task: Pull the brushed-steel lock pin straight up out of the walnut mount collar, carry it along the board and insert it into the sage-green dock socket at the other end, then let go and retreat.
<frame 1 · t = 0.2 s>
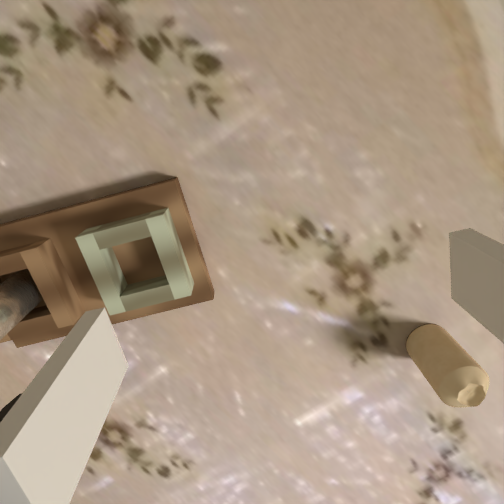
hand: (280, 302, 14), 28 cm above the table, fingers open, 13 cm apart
socket board: (96, 263, 43), on the table
candle: (425, 341, 49), on the table
lock pin: (30, 285, 42), point 2 cm above the table, touching socket board
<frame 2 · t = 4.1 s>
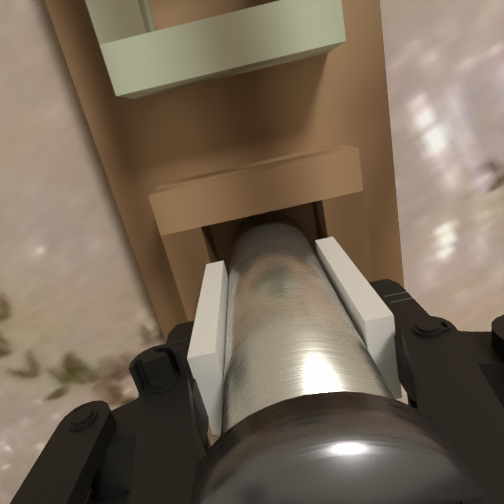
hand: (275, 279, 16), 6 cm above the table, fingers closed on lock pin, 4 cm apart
socket board: (238, 110, 20), on the table
lock pin: (268, 247, 20), point 2 cm above the table, touching gripper, socket board
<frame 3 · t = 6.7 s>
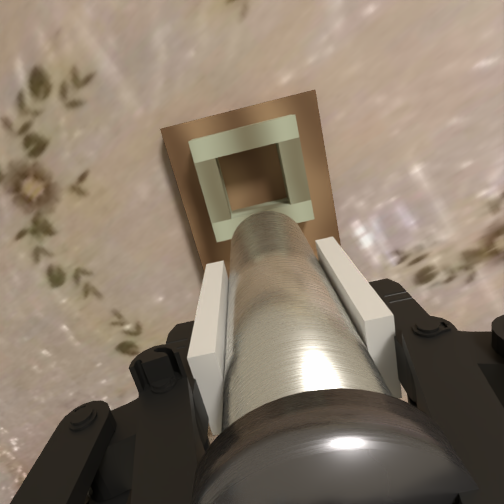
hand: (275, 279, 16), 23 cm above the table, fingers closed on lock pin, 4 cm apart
socket board: (265, 230, 39), on the table
lock pin: (268, 247, 20), point 18 cm above the table, touching gripper
when the fingers open (7 cm above the table, at t = 9.4 s): lock pin stays where it is, resting on socket board.
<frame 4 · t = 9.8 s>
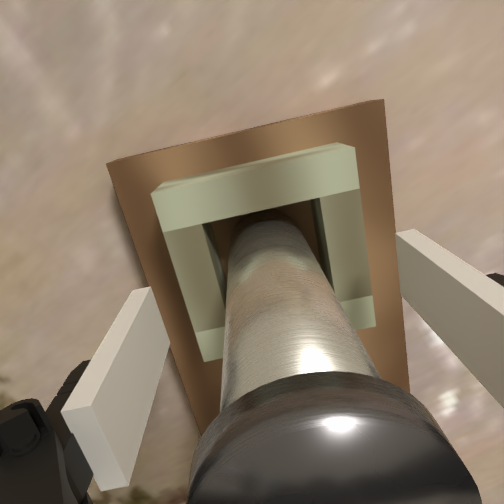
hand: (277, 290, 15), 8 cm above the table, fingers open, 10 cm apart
socket board: (283, 319, 24), on the table
lock pin: (266, 244, 21), point 2 cm above the table, touching socket board
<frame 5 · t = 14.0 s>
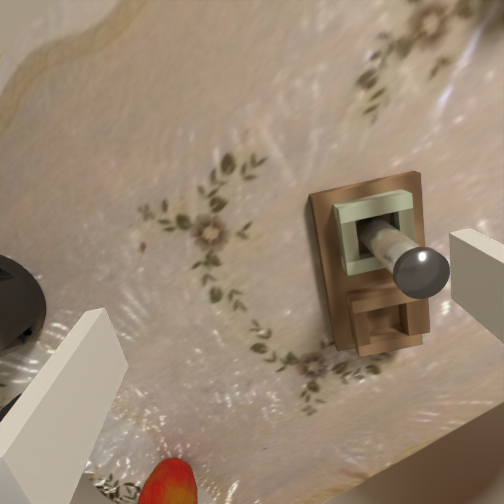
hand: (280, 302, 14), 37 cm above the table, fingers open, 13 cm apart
apple: (175, 463, 66), on the table
socket board: (370, 264, 54), on the table
lock pin: (370, 229, 50), point 2 cm above the table, touching socket board
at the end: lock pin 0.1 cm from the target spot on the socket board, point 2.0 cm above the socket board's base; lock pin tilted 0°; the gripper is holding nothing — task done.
